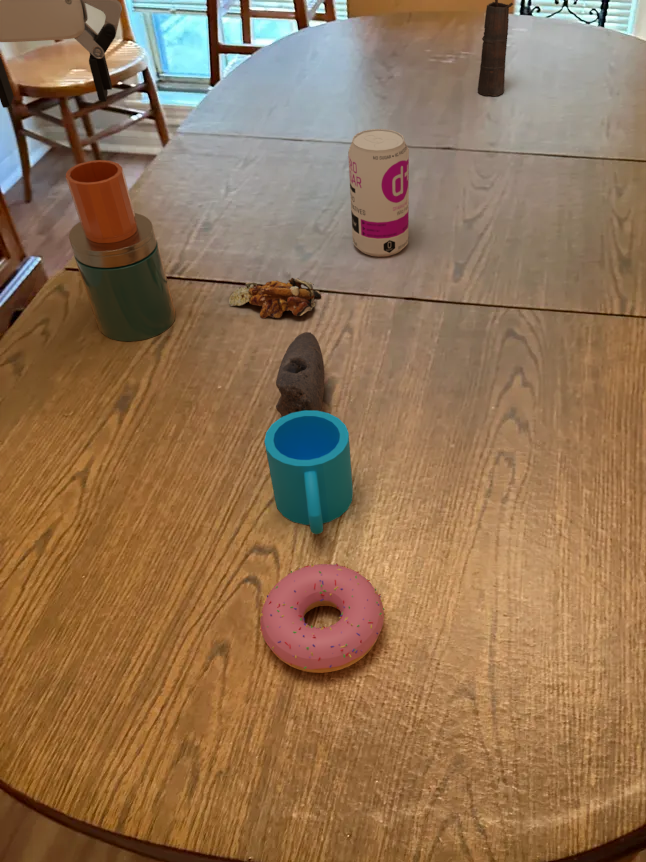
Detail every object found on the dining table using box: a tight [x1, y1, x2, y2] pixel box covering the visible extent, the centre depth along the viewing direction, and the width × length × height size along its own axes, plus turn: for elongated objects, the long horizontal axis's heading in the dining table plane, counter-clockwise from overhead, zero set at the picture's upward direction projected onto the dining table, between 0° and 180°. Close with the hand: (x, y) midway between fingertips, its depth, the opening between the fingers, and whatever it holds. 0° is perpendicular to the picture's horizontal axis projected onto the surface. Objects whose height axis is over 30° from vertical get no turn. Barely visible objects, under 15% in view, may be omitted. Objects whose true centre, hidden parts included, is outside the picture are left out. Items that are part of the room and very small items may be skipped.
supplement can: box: [347, 128, 410, 258], centre depth 111 cm, size 8×8×15 cm
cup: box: [65, 159, 138, 243], centre depth 92 cm, size 6×6×7 cm
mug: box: [264, 410, 354, 535], centre depth 78 cm, size 12×8×8 cm
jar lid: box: [68, 212, 157, 268], centre depth 95 cm, size 10×10×2 cm
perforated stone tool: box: [275, 331, 325, 417], centre depth 90 cm, size 15×5×7 cm, turn 178°
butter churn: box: [477, 0, 514, 97], centre depth 146 cm, size 9×10×28 cm
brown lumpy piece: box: [228, 277, 322, 319], centre depth 105 cm, size 7×12×4 cm, turn 82°
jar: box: [73, 239, 176, 342], centre depth 99 cm, size 10×10×12 cm
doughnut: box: [259, 562, 385, 674], centre depth 69 cm, size 11×11×4 cm
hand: (56, 99), depth 83 cm, fingers open, 9 cm apart
